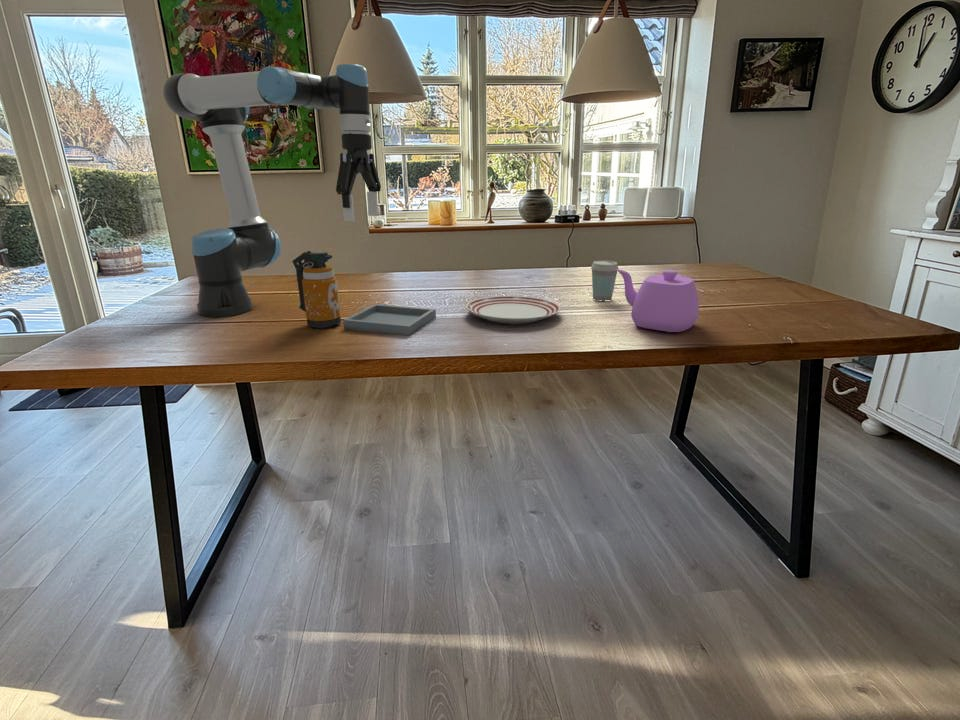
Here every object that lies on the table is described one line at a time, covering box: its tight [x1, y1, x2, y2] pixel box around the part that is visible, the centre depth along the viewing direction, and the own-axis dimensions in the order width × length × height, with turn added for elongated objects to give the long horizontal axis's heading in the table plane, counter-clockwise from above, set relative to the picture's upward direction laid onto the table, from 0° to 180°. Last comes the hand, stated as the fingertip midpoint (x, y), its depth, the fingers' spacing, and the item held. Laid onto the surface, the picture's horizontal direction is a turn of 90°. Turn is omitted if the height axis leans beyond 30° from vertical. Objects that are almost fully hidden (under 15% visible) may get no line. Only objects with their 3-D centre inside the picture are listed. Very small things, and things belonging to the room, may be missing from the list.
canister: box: [291, 250, 342, 329], centre depth 140 cm, size 9×11×20 cm
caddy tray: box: [342, 303, 437, 336], centre depth 144 cm, size 19×17×2 cm
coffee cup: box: [590, 260, 620, 301], centre depth 166 cm, size 9×8×12 cm
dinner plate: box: [465, 295, 561, 325], centre depth 151 cm, size 28×27×3 cm
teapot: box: [616, 268, 700, 333], centre depth 142 cm, size 23×21×15 cm
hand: (361, 218), depth 142 cm, fingers open, 13 cm apart
